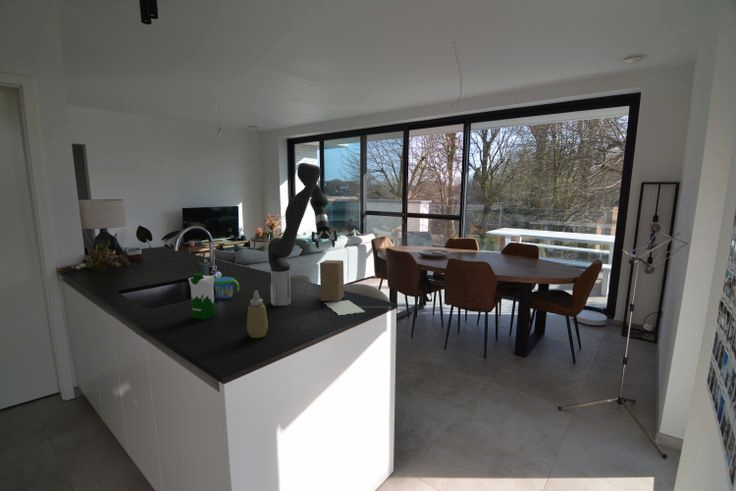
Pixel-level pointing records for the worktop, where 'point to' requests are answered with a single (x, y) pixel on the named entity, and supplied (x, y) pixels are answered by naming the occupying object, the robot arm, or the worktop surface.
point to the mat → (344, 307)
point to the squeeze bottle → (257, 317)
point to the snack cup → (224, 287)
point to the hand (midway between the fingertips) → (325, 247)
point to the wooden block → (332, 280)
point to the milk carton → (202, 296)
